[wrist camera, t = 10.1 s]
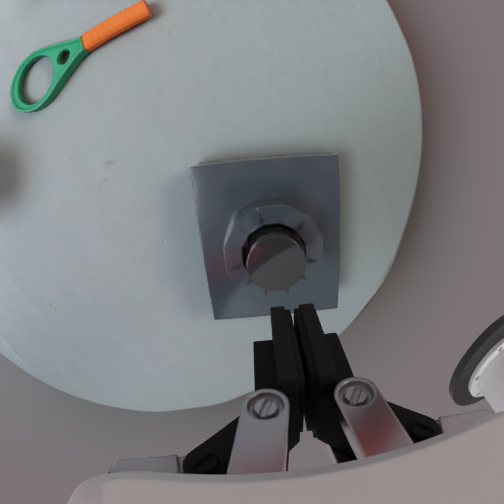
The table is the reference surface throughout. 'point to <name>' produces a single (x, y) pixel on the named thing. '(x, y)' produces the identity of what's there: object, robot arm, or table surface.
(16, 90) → the magnifying glass
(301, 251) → the button cap
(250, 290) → the button housing
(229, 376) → the table surface
